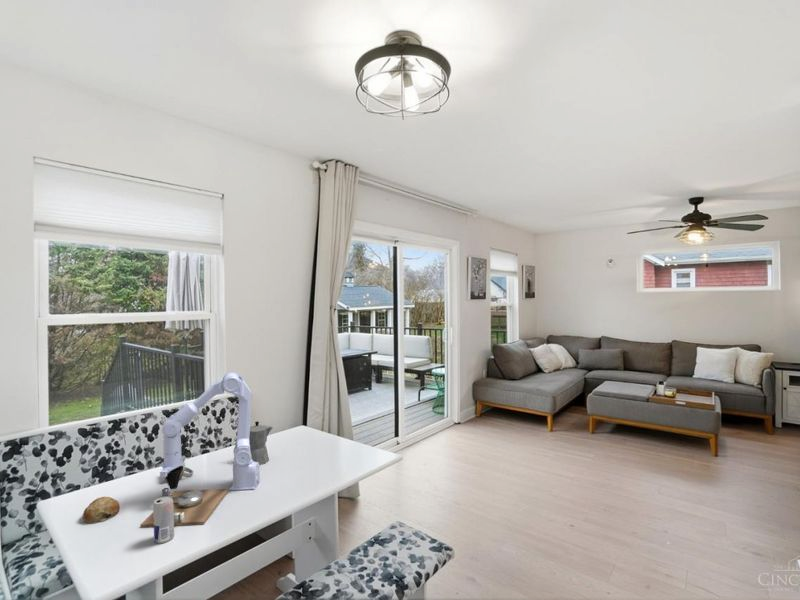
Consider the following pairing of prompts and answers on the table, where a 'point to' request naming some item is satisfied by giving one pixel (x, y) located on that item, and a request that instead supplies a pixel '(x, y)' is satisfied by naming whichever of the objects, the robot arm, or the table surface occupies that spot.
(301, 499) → the table surface
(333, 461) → the table surface
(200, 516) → the stand board
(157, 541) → the energy drink
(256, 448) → the coffeepot
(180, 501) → the grey metal rounded piece
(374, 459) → the table surface
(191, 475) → the ceramic mug
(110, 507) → the bread roll
